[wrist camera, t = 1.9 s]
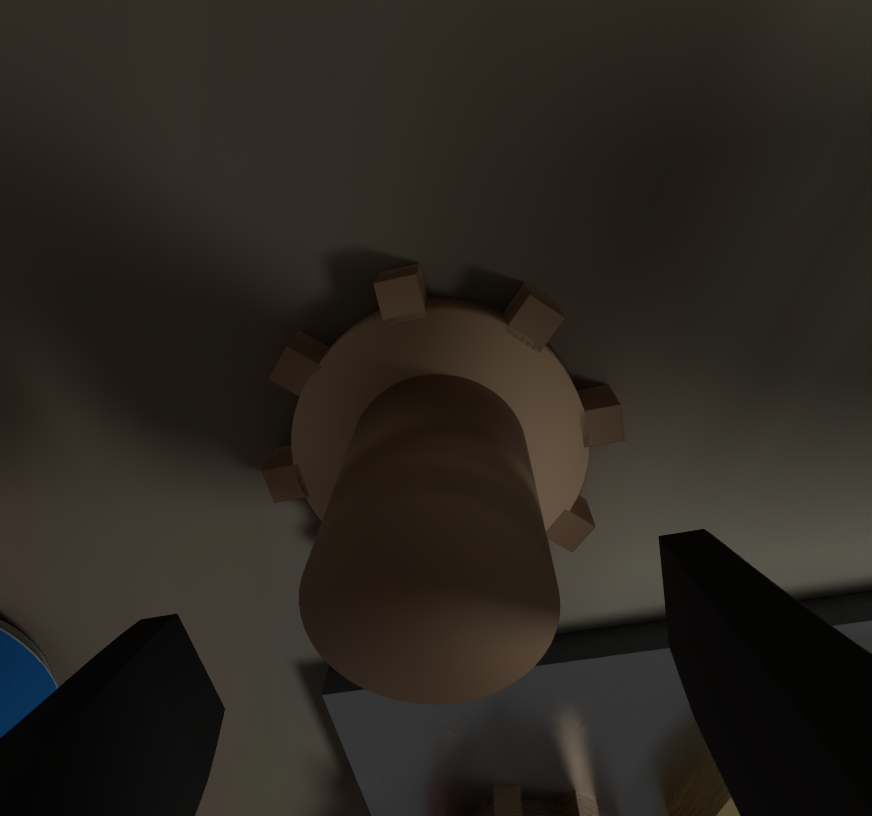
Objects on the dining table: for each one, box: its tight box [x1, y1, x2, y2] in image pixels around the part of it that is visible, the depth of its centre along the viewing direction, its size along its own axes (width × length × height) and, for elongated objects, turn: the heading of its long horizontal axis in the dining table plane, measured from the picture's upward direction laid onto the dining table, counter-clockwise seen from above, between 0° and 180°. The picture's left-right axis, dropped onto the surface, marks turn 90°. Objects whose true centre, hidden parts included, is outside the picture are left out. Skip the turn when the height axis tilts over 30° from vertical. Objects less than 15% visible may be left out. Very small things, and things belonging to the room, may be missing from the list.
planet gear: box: [262, 263, 625, 705], centre depth 12 cm, size 8×8×6 cm
